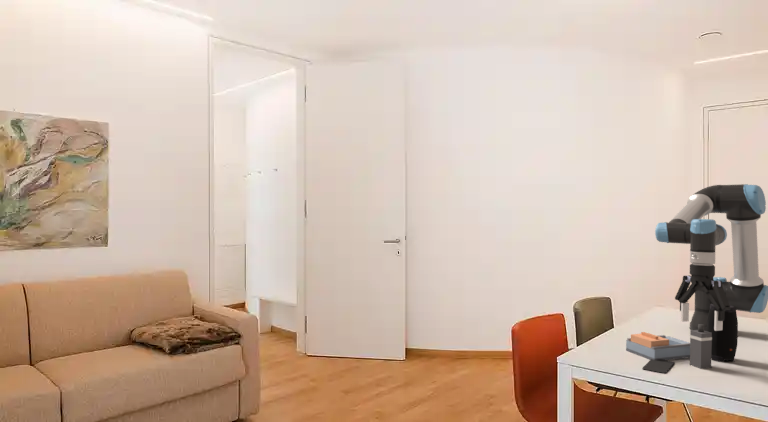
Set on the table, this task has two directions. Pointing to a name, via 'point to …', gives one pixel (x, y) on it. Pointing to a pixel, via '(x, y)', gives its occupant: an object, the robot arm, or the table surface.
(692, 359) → the grey bottle-shaped block
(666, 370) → the phone
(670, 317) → the table surface
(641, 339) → the panel
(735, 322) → the portable speaker
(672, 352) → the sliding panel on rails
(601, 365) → the table surface
